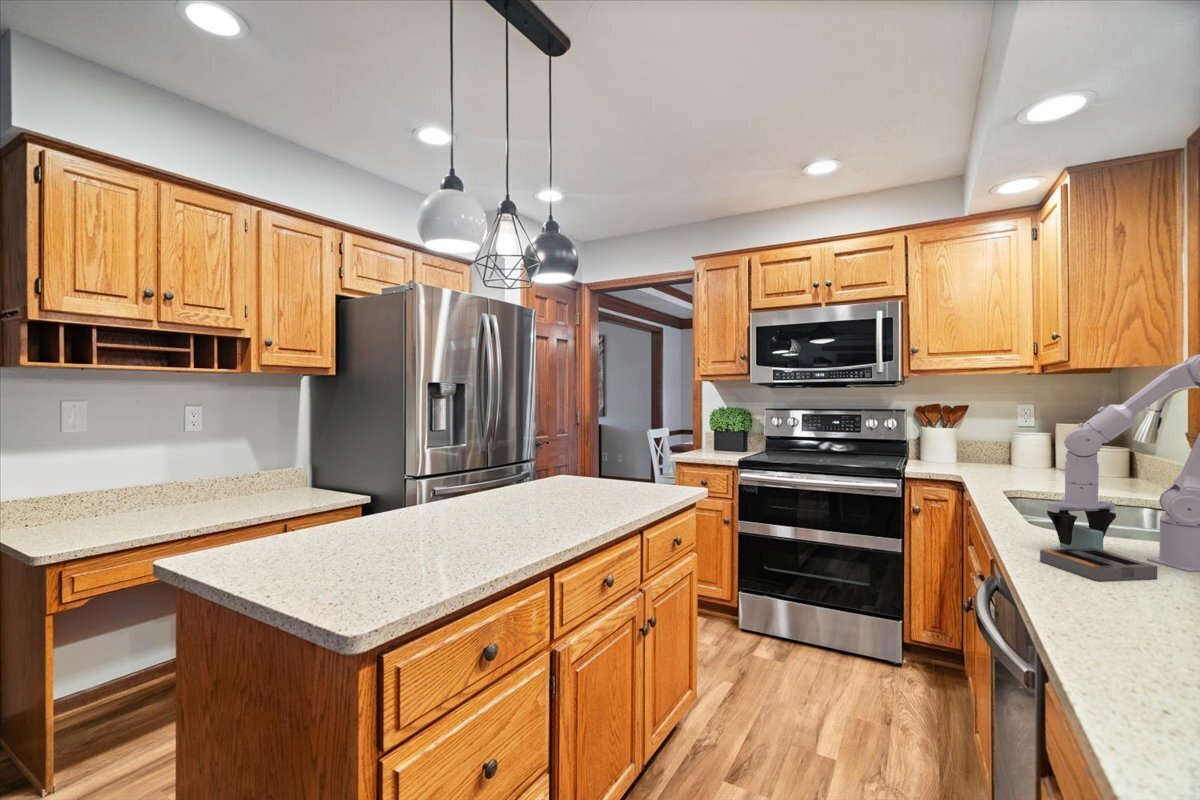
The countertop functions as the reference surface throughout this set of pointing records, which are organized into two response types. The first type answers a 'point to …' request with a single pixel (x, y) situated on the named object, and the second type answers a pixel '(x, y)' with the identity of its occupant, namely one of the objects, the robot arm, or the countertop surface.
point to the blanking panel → (1085, 538)
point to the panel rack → (1098, 564)
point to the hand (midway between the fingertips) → (1080, 543)
